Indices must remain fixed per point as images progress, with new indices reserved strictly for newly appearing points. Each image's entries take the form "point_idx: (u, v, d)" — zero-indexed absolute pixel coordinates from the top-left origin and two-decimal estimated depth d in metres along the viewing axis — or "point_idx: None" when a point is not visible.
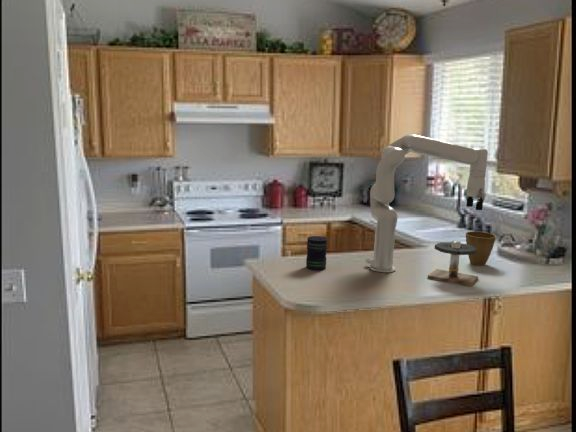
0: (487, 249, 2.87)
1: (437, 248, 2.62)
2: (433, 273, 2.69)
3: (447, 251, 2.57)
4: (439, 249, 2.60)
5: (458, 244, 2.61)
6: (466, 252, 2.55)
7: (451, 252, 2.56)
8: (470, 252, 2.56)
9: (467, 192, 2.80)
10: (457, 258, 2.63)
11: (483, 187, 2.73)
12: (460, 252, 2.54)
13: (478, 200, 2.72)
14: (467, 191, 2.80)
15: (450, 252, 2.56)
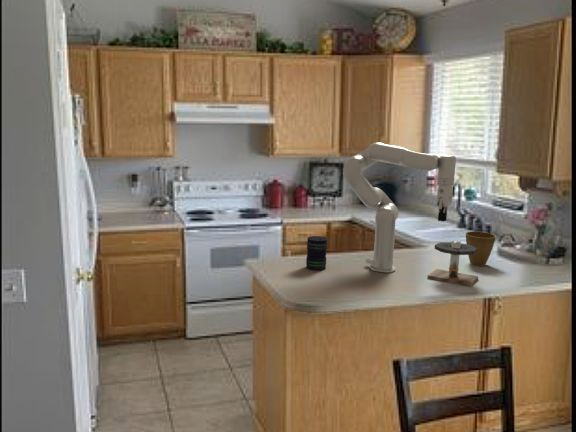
0: (487, 249, 2.87)
1: (437, 248, 2.62)
2: (433, 273, 2.69)
3: (447, 251, 2.57)
4: (439, 249, 2.60)
5: (458, 244, 2.61)
6: (466, 252, 2.55)
7: (451, 252, 2.56)
8: (470, 252, 2.56)
9: (447, 203, 2.60)
10: (457, 258, 2.63)
11: None
12: (460, 252, 2.54)
13: None
14: (447, 202, 2.60)
15: (450, 252, 2.56)
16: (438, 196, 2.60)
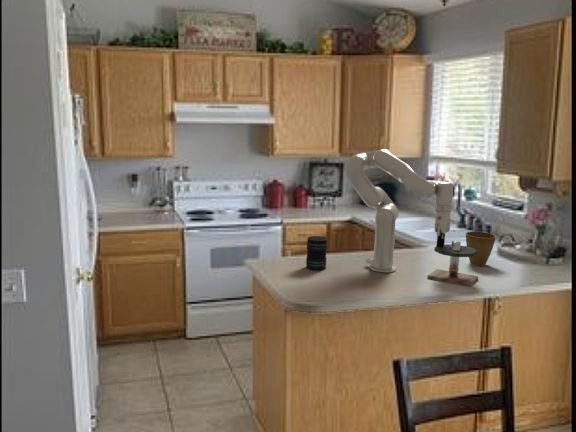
0: (487, 249, 2.87)
1: (437, 250, 2.62)
2: (433, 273, 2.69)
3: (447, 253, 2.57)
4: (439, 251, 2.60)
5: (458, 244, 2.61)
6: (466, 254, 2.55)
7: (451, 254, 2.56)
8: (470, 254, 2.56)
9: (445, 230, 2.62)
10: (457, 258, 2.63)
11: None
12: (460, 254, 2.55)
13: (444, 237, 2.67)
14: (445, 229, 2.62)
15: (450, 254, 2.56)
16: (436, 223, 2.62)
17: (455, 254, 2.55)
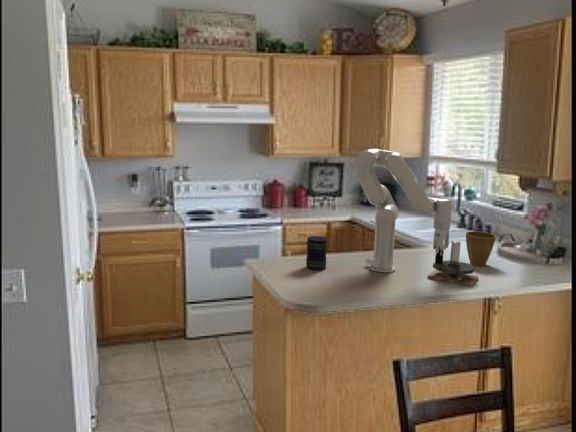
0: (487, 249, 2.87)
1: (435, 267, 2.64)
2: (433, 273, 2.69)
3: (445, 270, 2.58)
4: (437, 268, 2.62)
5: (458, 244, 2.61)
6: (464, 271, 2.57)
7: (449, 271, 2.57)
8: (468, 271, 2.57)
9: (444, 247, 2.63)
10: (457, 258, 2.63)
11: None
12: (458, 271, 2.56)
13: None
14: (444, 246, 2.63)
15: (448, 271, 2.58)
16: (435, 240, 2.63)
17: (453, 271, 2.56)
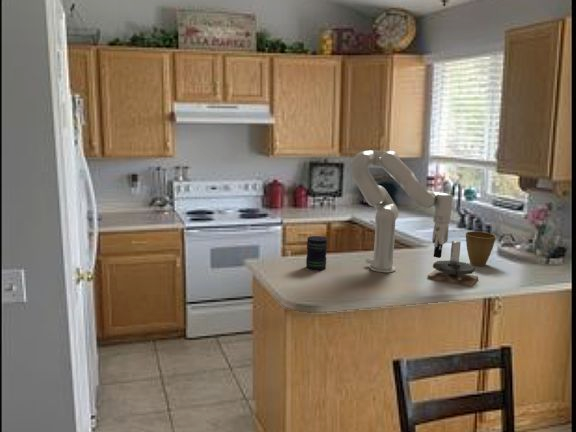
0: (487, 249, 2.87)
1: (435, 267, 2.64)
2: (433, 273, 2.69)
3: (445, 270, 2.58)
4: (437, 268, 2.62)
5: (458, 244, 2.61)
6: (464, 271, 2.57)
7: (449, 271, 2.57)
8: (468, 271, 2.57)
9: (443, 241, 2.63)
10: (457, 258, 2.63)
11: None
12: (458, 271, 2.56)
13: None
14: (443, 240, 2.63)
15: (448, 271, 2.58)
16: (434, 234, 2.63)
17: (453, 271, 2.56)
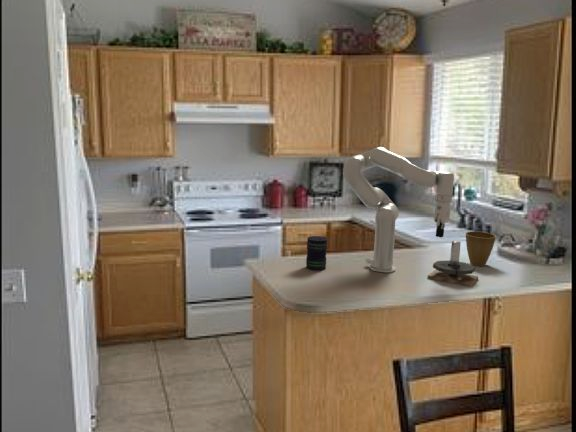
0: (487, 249, 2.87)
1: (435, 267, 2.64)
2: (433, 273, 2.69)
3: (445, 270, 2.58)
4: (437, 268, 2.62)
5: (458, 244, 2.61)
6: (464, 271, 2.57)
7: (449, 271, 2.57)
8: (468, 271, 2.57)
9: (445, 220, 2.61)
10: (457, 258, 2.63)
11: None
12: (458, 271, 2.56)
13: None
14: (445, 219, 2.61)
15: (448, 271, 2.58)
16: (436, 213, 2.61)
17: (453, 271, 2.56)
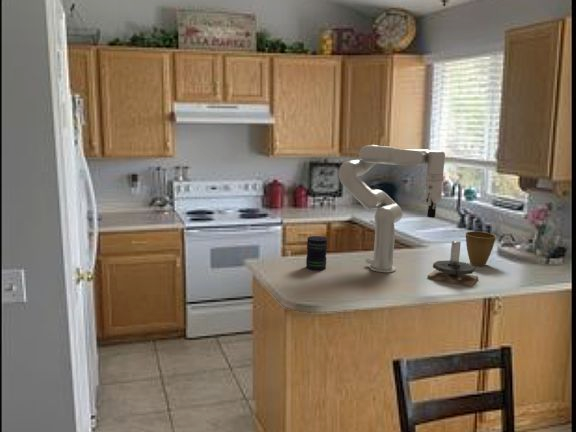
0: (487, 249, 2.87)
1: (435, 267, 2.64)
2: (433, 273, 2.69)
3: (445, 270, 2.58)
4: (437, 268, 2.62)
5: (458, 244, 2.61)
6: (464, 271, 2.57)
7: (449, 271, 2.57)
8: (468, 271, 2.57)
9: (436, 200, 2.56)
10: (457, 258, 2.63)
11: None
12: (458, 271, 2.56)
13: (435, 207, 2.62)
14: (436, 199, 2.56)
15: (448, 271, 2.58)
16: (427, 192, 2.56)
17: (453, 271, 2.56)
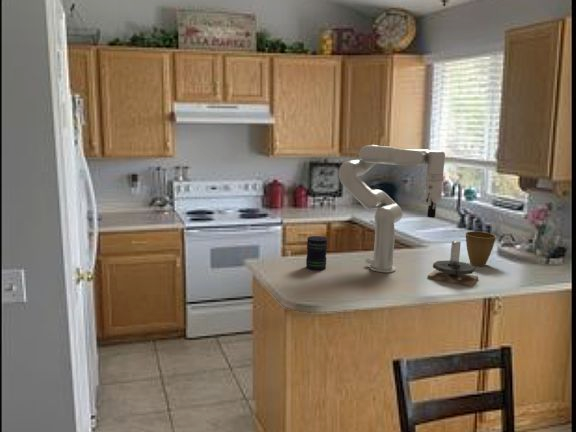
0: (487, 249, 2.87)
1: (435, 267, 2.64)
2: (433, 273, 2.69)
3: (445, 270, 2.58)
4: (437, 268, 2.62)
5: (458, 244, 2.61)
6: (464, 271, 2.57)
7: (449, 271, 2.57)
8: (468, 271, 2.57)
9: (436, 200, 2.56)
10: (457, 258, 2.63)
11: None
12: (458, 271, 2.56)
13: (435, 207, 2.62)
14: (436, 199, 2.56)
15: (448, 271, 2.58)
16: (427, 192, 2.56)
17: (453, 271, 2.56)
